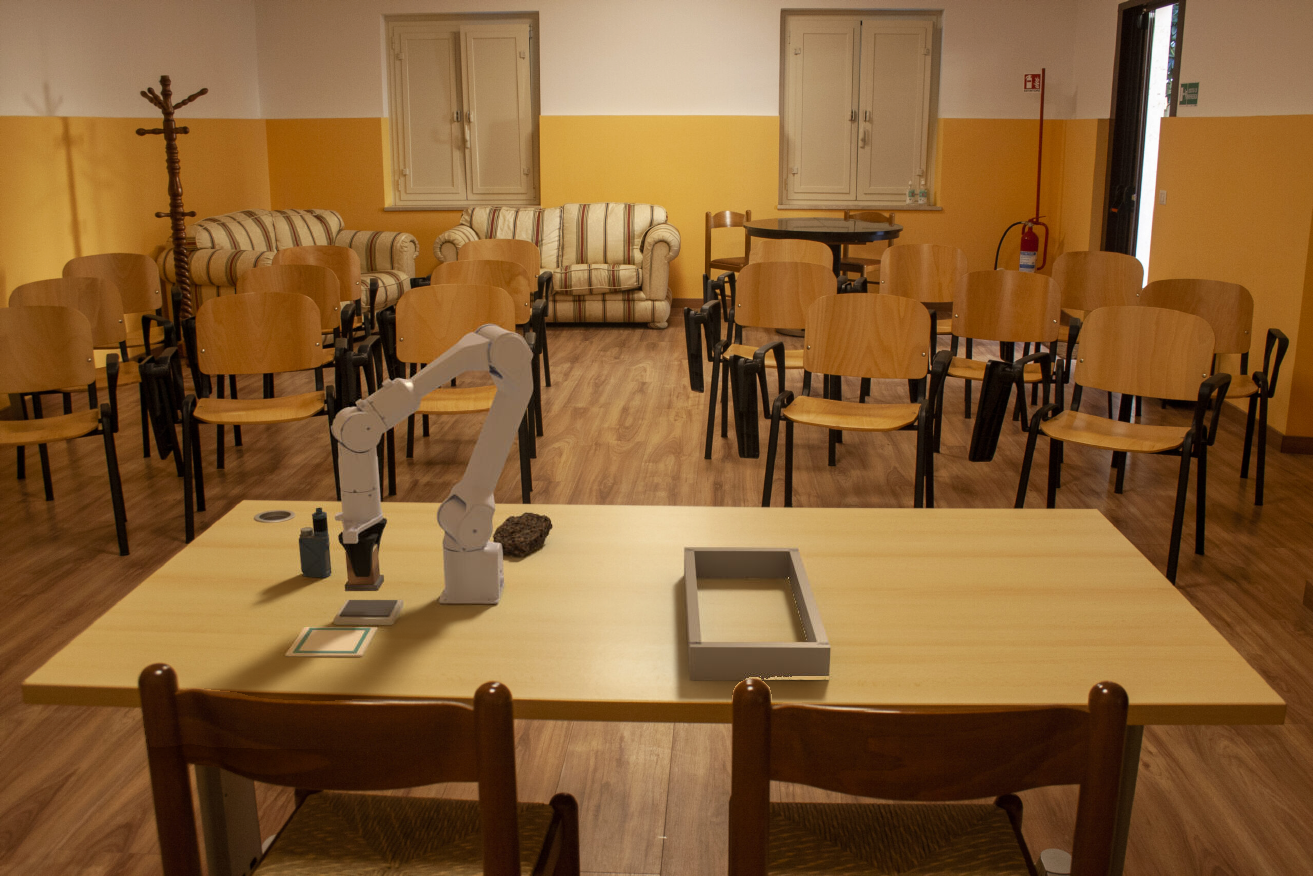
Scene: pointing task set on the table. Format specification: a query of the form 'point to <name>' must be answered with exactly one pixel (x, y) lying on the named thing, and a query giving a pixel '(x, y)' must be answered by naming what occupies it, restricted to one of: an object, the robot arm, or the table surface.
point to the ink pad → (368, 612)
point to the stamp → (365, 582)
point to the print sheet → (332, 641)
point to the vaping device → (315, 547)
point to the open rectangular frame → (753, 656)
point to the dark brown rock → (522, 533)
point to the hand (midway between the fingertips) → (366, 570)
